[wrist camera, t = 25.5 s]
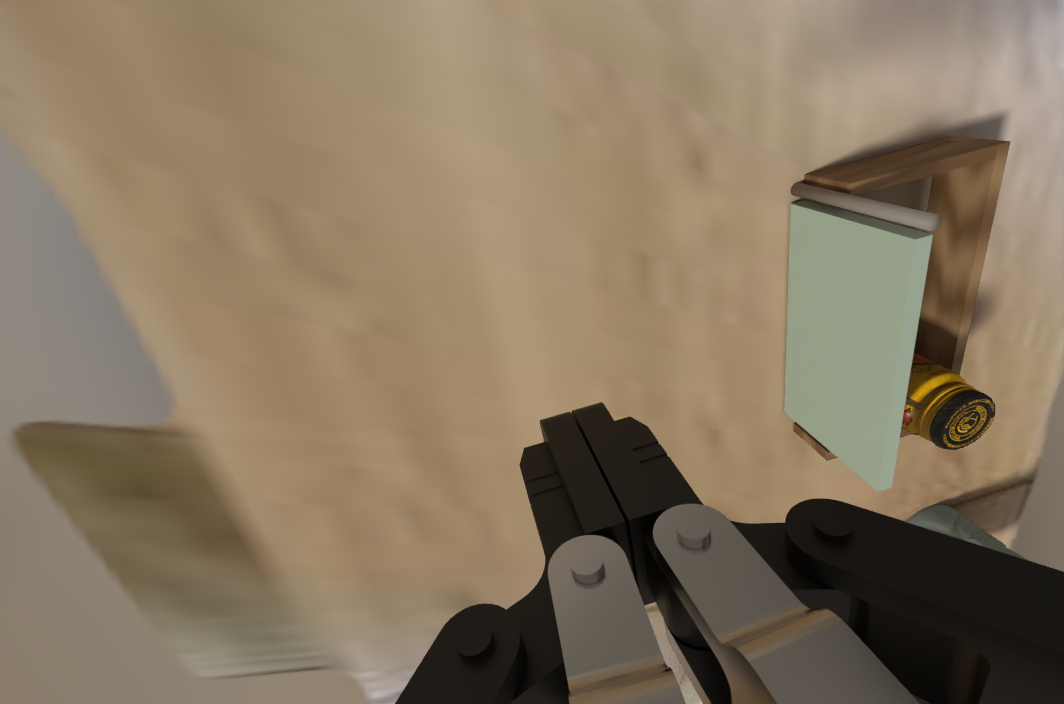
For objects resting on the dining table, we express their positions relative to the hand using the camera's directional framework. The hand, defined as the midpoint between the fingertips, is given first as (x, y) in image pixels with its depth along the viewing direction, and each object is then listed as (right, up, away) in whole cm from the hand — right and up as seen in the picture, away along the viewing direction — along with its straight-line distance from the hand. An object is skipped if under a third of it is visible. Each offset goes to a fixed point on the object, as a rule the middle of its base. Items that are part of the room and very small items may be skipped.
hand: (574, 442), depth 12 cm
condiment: (+31, +1, +40) cm, 50 cm away
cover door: (+23, +6, +35) cm, 42 cm away
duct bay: (+29, +7, +36) cm, 47 cm away
